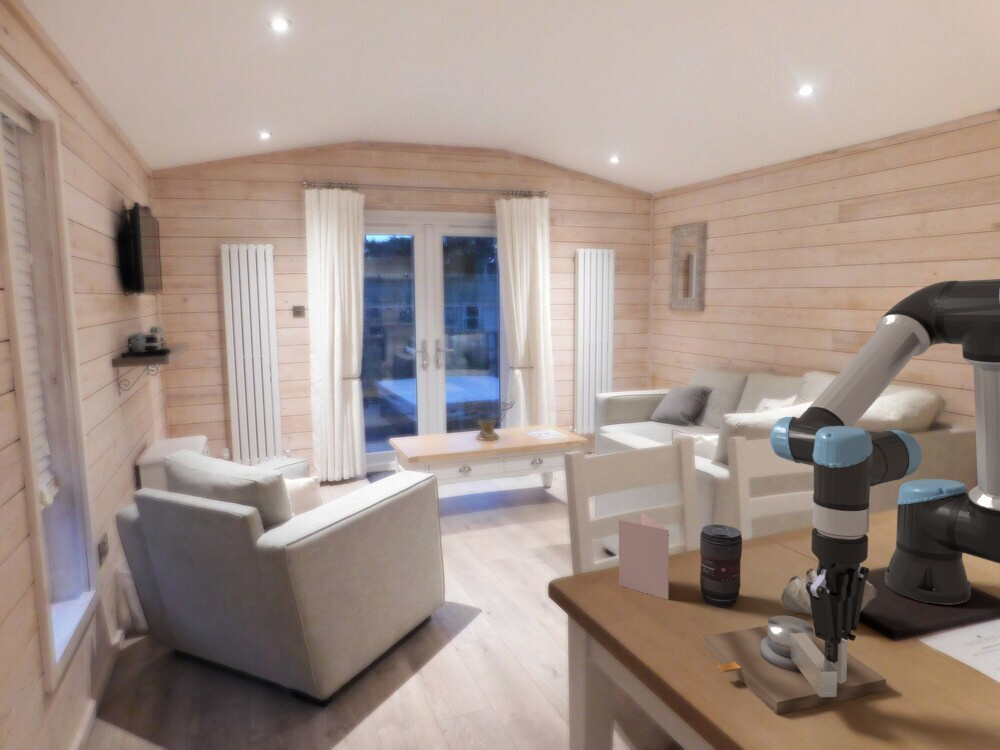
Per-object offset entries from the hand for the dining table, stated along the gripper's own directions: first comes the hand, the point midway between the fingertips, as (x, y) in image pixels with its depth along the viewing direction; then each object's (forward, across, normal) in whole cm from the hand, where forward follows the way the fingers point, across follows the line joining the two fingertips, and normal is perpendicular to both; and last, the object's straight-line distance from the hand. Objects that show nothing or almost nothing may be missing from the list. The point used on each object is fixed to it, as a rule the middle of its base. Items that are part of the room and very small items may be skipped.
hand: (835, 677), depth 102 cm
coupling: (0, 0, -5) cm, 5 cm away
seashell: (+4, -24, -16) cm, 29 cm away
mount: (+4, -1, -10) cm, 11 cm away
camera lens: (+4, -13, -33) cm, 35 cm away
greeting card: (+4, -3, -45) cm, 45 cm away
